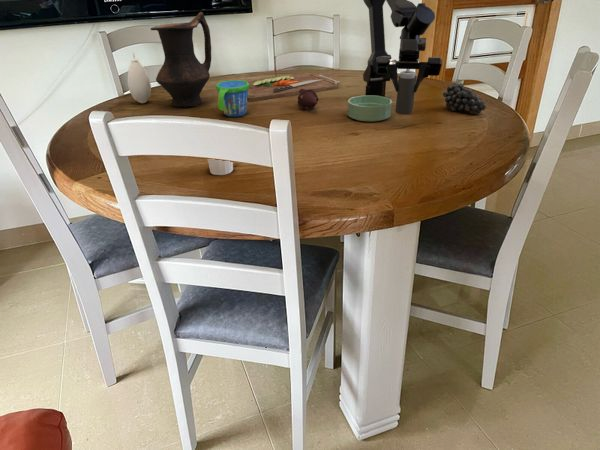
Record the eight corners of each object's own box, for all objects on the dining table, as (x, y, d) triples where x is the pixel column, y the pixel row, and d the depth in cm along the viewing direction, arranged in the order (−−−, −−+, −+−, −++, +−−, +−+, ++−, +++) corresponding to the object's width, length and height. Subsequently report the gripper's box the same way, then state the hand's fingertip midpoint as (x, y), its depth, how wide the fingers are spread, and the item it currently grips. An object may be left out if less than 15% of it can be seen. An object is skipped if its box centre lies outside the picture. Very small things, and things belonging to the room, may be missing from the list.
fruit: (493, 86, 144) (453, 77, 154) (477, 99, 141) (437, 89, 151) (493, 110, 150) (454, 100, 160) (477, 123, 147) (439, 112, 157)
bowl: (374, 107, 158) (375, 93, 156) (399, 118, 148) (400, 102, 145) (339, 113, 153) (339, 98, 151) (362, 125, 142) (363, 109, 140)
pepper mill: (404, 108, 141) (408, 66, 135) (415, 112, 138) (420, 69, 131) (392, 111, 139) (395, 68, 133) (403, 115, 136) (408, 71, 129)
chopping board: (314, 74, 206) (314, 67, 204) (346, 86, 185) (346, 79, 183) (218, 88, 188) (217, 80, 187) (241, 103, 168) (240, 94, 166)
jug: (170, 114, 157) (154, 18, 142) (154, 102, 170) (138, 14, 155) (227, 104, 166) (218, 13, 151) (207, 94, 180) (197, 9, 165)
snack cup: (233, 122, 147) (230, 90, 142) (208, 118, 152) (204, 87, 147) (261, 110, 159) (259, 80, 154) (236, 106, 164) (234, 77, 159)
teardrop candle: (133, 106, 167) (122, 54, 158) (130, 101, 173) (120, 50, 164) (155, 103, 169) (146, 52, 160) (152, 98, 176) (142, 49, 167)
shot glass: (208, 165, 117) (205, 139, 113) (236, 164, 117) (233, 138, 114) (206, 176, 111) (202, 149, 107) (234, 175, 111) (232, 147, 108)
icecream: (328, 93, 151) (311, 88, 164) (308, 90, 148) (291, 84, 161) (324, 115, 154) (307, 107, 166) (304, 112, 151) (288, 104, 163)
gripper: (378, 26, 132) (373, 74, 128) (446, 27, 128) (442, 76, 125) (378, 50, 142) (373, 95, 139) (440, 51, 139) (437, 98, 135)
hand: (405, 91), depth 134 cm, fingers closed on pepper mill, 5 cm apart
